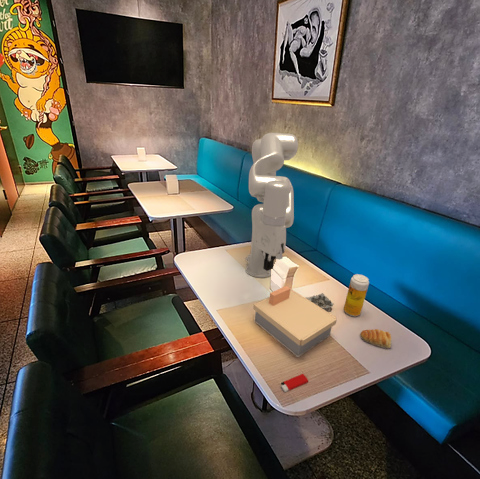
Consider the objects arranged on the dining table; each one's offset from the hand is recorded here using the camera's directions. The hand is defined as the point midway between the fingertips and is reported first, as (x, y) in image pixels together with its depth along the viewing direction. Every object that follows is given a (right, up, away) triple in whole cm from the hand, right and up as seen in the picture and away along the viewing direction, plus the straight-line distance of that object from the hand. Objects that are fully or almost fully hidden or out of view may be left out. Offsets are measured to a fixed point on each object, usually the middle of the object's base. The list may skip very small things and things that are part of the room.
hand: (268, 268), depth 106 cm
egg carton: (+19, -16, +10) cm, 27 cm away
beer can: (+32, -17, +8) cm, 38 cm away
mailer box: (+8, -20, -2) cm, 22 cm away
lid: (+8, -15, -5) cm, 18 cm away
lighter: (+5, -30, -22) cm, 38 cm away
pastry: (+36, -24, -5) cm, 43 cm away
